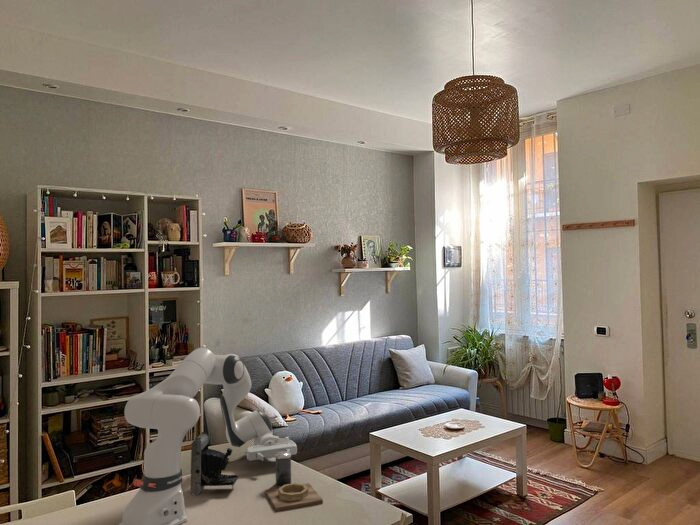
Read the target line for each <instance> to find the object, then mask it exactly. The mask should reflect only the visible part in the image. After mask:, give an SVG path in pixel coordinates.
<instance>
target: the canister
mask: <svg viewBox="0 0 700 525" xmlns="http://www.w3.org/2000/svg"><path fill="white" fill-rule="evenodd" d="M274 458H275V485H277V487H279V486H281V487H282V486H283V485H286V484H292V462H291V461H292V455H291V453H290V452H287V451H282V452H277V453H276V454H275V457H274Z"/></svg>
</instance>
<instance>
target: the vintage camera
mask: <svg viewBox="0 0 700 525" xmlns="http://www.w3.org/2000/svg"><path fill="white" fill-rule="evenodd" d="M209 439H210V436H209V434H208V433H207V432H204V431H201V433H200V434H199V435H198V436H197V437H196V438H194V440H193V441H192V443H191V450H190V451H191V454H190V493H191V495H192V496H198V495H199V494H200V493H201V492H202V490H203V489H204V488H205V487H218V486H219V487H221V486H232V491H234V486H235V484H236V483H237V481H238V479H239V478H240V475H238V474H223V473H222V471H223V472H224V471H226V468H227V467H228V464H229V460H230V458H229V457H230V456H231V455H232V452H233V448H230V447H228V448H226V452H225V453H224V452H222V451H219V450H215V449H211V448H209V442H210V440H209Z"/></svg>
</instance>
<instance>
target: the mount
mask: <svg viewBox="0 0 700 525" xmlns="http://www.w3.org/2000/svg"><path fill="white" fill-rule="evenodd" d="M265 495H266V496H267V499H268V500H269V502H270V503H271V505H272V507H273V509H274V511H275V512H279V511H280V512H281V511H287V510H291V509H298V508H304V507H308V506H314V505H318V504H319V505H320V504H323V503H324V502H323V501H324V500H323V498H322V497H321V496H320V494H319V493H318V492H317V491H316V490H315V488H314V487H313V486H312V484H310V483H309V482H307V483H306V482H305V483H296V482H293V483H292V482H291V484H286V485H283V486H282V487H275V488H270V489H265Z"/></svg>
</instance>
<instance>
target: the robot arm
mask: <svg viewBox="0 0 700 525" xmlns="http://www.w3.org/2000/svg"><path fill="white" fill-rule="evenodd" d="M204 384H207V385H222V386H223V390H222V394H221V396H220V397H219V401H220V402H219V403H220V409H221V413H222V418H223V423H224V427H225V436H226V439H227V440H226V441H227V442H228V443H229V445H230V446H232V447H235V448H240V447H242V446H243V445H245V444H247V442H249V441H251V440H252V444H253V445H250V446H248V447H247V448H246V449H244V450H243V453H244V454H245V455H246V460H247V461H258V460H260V461H262V462H264V461H267V460H269V459H272V458H275V454H276V453H277V452H282V451H287V452H290V453H291V456H292V455H296V454H297V453H298V446H297V444H296V442H294V440H291V439H290V438H289V436H279V435H273V433H272V431H273V425H272V422H271V419H269V417H268V415H267V414H266V413H265V412H264V411H262V410H260V409H256V410H254V411H252V412H250V413H248V414H247V415H245V416H243V417H242V418H240V419H238V420H235V416H234V410H235V409H236V408H237V406H238V405H239V404H240V403H241V402H242V401H243V400H244V399H245V398H246V397H247V396H248V395H249V393H250V391H251V389H252V385H253V384H252V380H251V377H250V374H249V371H248V369H247V367H246V365H245V364H244V362H243V360H242V359H241V358H240V357H239V355H237V354H236V353H235V354H234V353H228V354H225V355H224V354H223V355H222V354H214V353H213V351H211V350H210V349H208V348H206V347H198V348H196V349H194V350H193V351H191V352H189V353H188V355H187V356H185V357H184V358H183V359H182V361H181V362H179V364H178V365H177V366H176V368H175V369H174V370H173V371H172V372H171V373H170V374H169V375H168V376H167V377H166V378H164V380H162V381H161V382H158V383H157V384H156V385H154V386H153V387H151V388H149V389H147V390H145V391H143V392H141V393H138V394H135V395H132V396H131V397H130V398H129V399H128V401H127V402H126V404H125V407H124V418H125V420H126V422H127V423H128V424H130V425H132V426H135V427H137V428H141V429H153V430H157V437H156V439H155V440H154V441H152V442H150V443H149V444H147V446H146V448H145V450H144V453H143V456H144V458H143V459H144V460H143V466H144V467H143V468H144V469H143V470H144V472H143V475H142V478H141V479H138V478H136V479H134V481H133V486H134V487H139V490H138V491H137V492H136V493H135V495H134V496H133V497H132V499H131V500H130V502H128V504H127V505H126V506H125V508H124V509H123V512H122V520H121V522H120V523H119V524H118V525H181V524H183V523H185V522H186V521H188V516H187V510H186V507H185V499H184V493H183V492H184V491H183V489H182V481H183V470H182V468H181V462H182V461H181V458H182V456H181V455H182V445H183V442H184V439H185V437H186V434H187V433H188V432H189V431H190V430H191V429H192V428H193V427H195V426H196V424H197V423H198V421H199V419H200V416H201V408H200V404H199V402H198V401H197V399H195V396H196V395H197V394H198V393H199V391H200V389H202V387H203V386H204Z"/></svg>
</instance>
